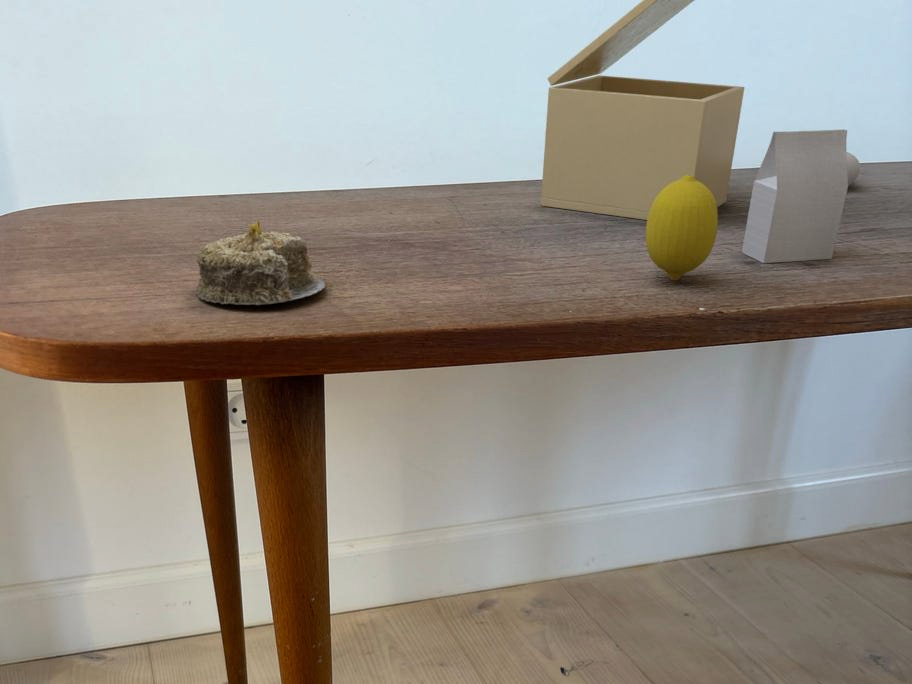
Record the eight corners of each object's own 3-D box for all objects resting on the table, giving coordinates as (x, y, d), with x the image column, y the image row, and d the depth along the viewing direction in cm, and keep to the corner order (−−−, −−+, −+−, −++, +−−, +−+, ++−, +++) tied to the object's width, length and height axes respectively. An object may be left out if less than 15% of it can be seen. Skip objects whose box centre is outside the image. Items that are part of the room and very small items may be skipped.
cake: (183, 317, 78) (168, 241, 75) (213, 281, 86) (200, 211, 83) (316, 310, 77) (306, 232, 74) (333, 274, 85) (325, 203, 82)
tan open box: (726, 202, 110) (744, 86, 104) (687, 225, 101) (705, 101, 95) (588, 184, 117) (598, 75, 111) (540, 205, 108) (548, 87, 102)
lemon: (633, 284, 85) (646, 178, 80) (647, 267, 89) (661, 165, 84) (702, 293, 83) (719, 184, 78) (713, 275, 87) (730, 171, 83)
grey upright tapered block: (831, 258, 92) (859, 133, 86) (763, 263, 90) (787, 136, 85) (808, 248, 95) (833, 126, 89) (741, 252, 93) (763, 128, 88)
